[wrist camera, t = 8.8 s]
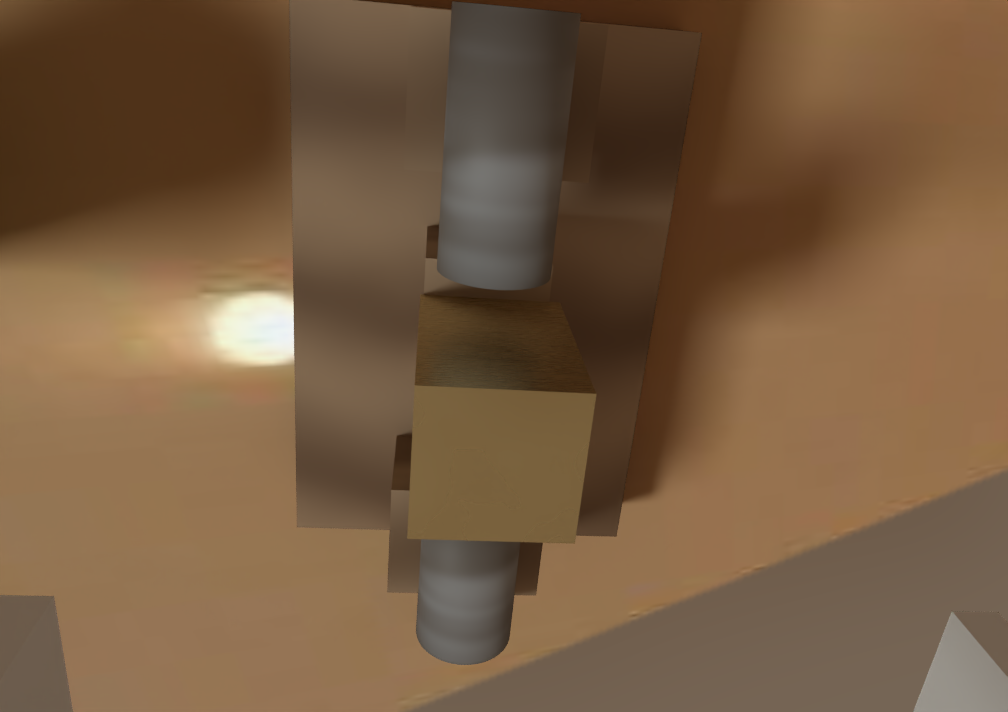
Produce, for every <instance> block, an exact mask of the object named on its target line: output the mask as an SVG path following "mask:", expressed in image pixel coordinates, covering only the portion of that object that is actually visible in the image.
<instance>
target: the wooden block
mask: <svg viewBox="0 0 1008 712" xmlns="http://www.w3.org/2000/svg"><path fill="white" fill-rule="evenodd" d="M595 401H596V391H595V389H594V386H593V384H592V381H591V379H590V376H589V374H588V371H587V369H586V366H585V364H584V361H583V359H582V357H581V354H580V352H579V349H578V347H577V344H576V342H575V339H574V337H573V334H572V332H571V329H570V327H569V324H568V322H567V319H566V317H565V314H564V312H563V309H562V307H561V304H560V302H544V301H527V300H509V299H492V298H475V297H458V296H440V295H423V294H420V309H419V324H418V340H417V356H416V372H415V388H414V409H413V429H412V450H411V471H410V492H409V512H408V533H407V539H429V540H465V541H501V542H537V543H574V544H575V538H576V532H577V525H578V518H579V511H580V504H581V497H582V490H583V483H584V477H585V470H586V463H587V456H588V449H589V442H590V435H591V428H592V422H593V415H594V408H595Z"/></svg>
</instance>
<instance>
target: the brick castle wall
mask: <svg viewBox="0 0 1008 712" xmlns="http://www.w3.org/2000/svg"><path fill="white" fill-rule="evenodd" d="M289 17H290V85H291V153H292V221H293V289H294V356H295V424H296V492H297V527H306V528H341V529H375V530H390V537H389V563H388V589H387V592H397V593H418V605H417V622H416V634H417V638H418V640H419V643H420V644H421V646H422V647H423V648H424V649H425V650H426V651H427V652H428V653H429V654H431V655H432V656H434V657H436V658H437V659H439V660H442V661H445V662H448V663H452V664H459V665H472V664H478V663H482V662H485V661H488V660H490V659H492V658H494V657H496V656H497V655H499V654H500V653H501V652H502V651H503V650H504V648H505V647H506V645H507V644H508V641H509V637H510V628H511V620H512V611H513V602H514V595H536V591H537V583H538V575H539V568H540V560H541V552H542V544H543V543H537V542H501V541H465V540H429V539H407V533H408V512H409V492H410V471H411V450H412V429H413V409H414V388H415V372H416V356H417V340H418V324H419V309H420V294H423V295H440V296H458V297H475V298H492V299H509V300H527V301H544V302H560V304H561V307H562V309H563V312H564V314H565V317H566V319H567V322H568V324H569V327H570V329H571V332H572V334H573V337H574V339H575V342H576V344H577V347H578V349H579V352H580V354H581V357H582V359H583V361H584V364H585V366H586V369H587V371H588V374H589V376H590V379H591V381H592V384H593V386H594V389H595V391H596V401H595V408H594V415H593V422H592V428H591V435H590V442H589V449H588V456H587V463H586V470H585V477H584V483H583V490H582V497H581V504H580V511H579V518H578V525H577V532H576V535H580V536H614V537H616V536H617V530H618V524H619V519H620V513H621V507H622V501H623V495H624V489H625V483H626V477H627V471H628V466H629V460H630V454H631V448H632V442H633V436H634V430H635V424H636V418H637V412H638V407H639V401H640V395H641V389H642V383H643V377H644V371H645V365H646V359H647V354H648V348H649V342H650V336H651V330H652V324H653V318H654V312H655V306H656V301H657V295H658V289H659V283H660V277H661V271H662V265H663V259H664V253H665V248H666V242H667V236H668V230H669V224H670V218H671V212H672V206H673V200H674V195H675V189H676V183H677V177H678V171H679V165H680V159H681V153H682V147H683V142H684V136H685V130H686V124H687V118H688V112H689V106H690V100H691V94H692V89H693V83H694V77H695V71H696V65H697V59H698V53H699V47H700V41H701V36H702V33H698V32H689V31H680V30H669V29H659V28H648V27H638V26H627V25H616V24H606V23H595V22H584V21H580V18H581V14H580V13H570V12H560V11H550V10H539V9H529V8H518V7H508V6H497V5H487V4H476V3H465V2H454V1H452V9H447V8H436V7H425V6H415V5H404V4H393V3H383V2H372V1H362V0H289Z"/></svg>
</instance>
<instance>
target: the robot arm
mask: <svg viewBox="0 0 1008 712" xmlns="http://www.w3.org/2000/svg"><path fill="white" fill-rule="evenodd" d="M0 712H73V709H72V703H71V697H70V691H69V685H68V679H67V673H66V667H65V661H64V655H63V649H62V642H61V636H60V630H59V624H58V618H57V612H56V606H55V600H54V596H16V595H0ZM913 712H1008V622H1007V621H1006V620H1005V619H1004V618H1003V617H1002V616H1001V615H1000V613H999V612H969V611H952V612H951V615H950V618H949V620H948V623H947V625H946V628H945V631H944V634H943V636H942V639H941V641H940V644H939V646H938V649H937V651H936V654H935V657H934V659H933V662H932V664H931V667H930V670H929V672H928V675H927V677H926V680H925V683H924V685H923V688H922V691H921V693H920V696H919V698H918V701H917V704H916V706H915V709H914V711H913Z"/></svg>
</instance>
